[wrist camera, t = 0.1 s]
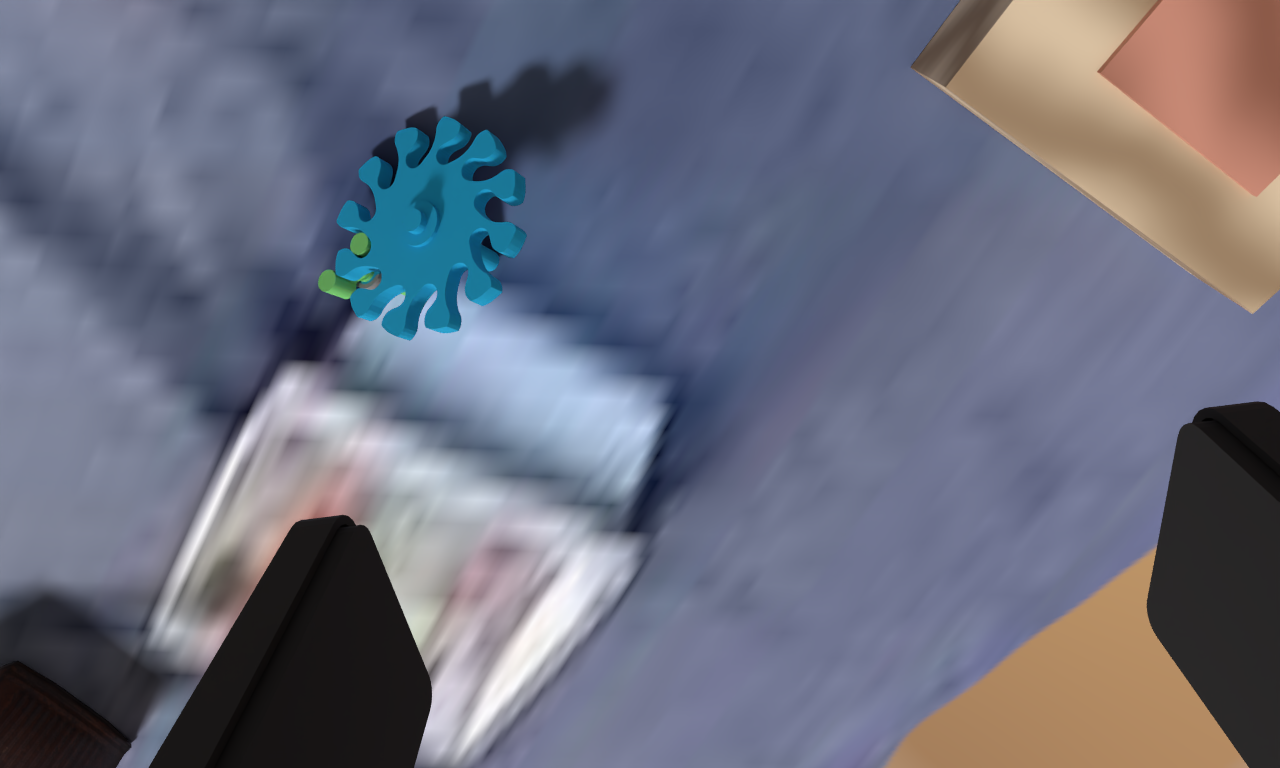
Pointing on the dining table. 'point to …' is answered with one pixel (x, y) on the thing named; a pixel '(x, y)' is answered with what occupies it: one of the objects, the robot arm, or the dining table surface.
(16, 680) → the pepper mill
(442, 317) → the blue lumpy piece
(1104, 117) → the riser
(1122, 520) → the dining table surface
